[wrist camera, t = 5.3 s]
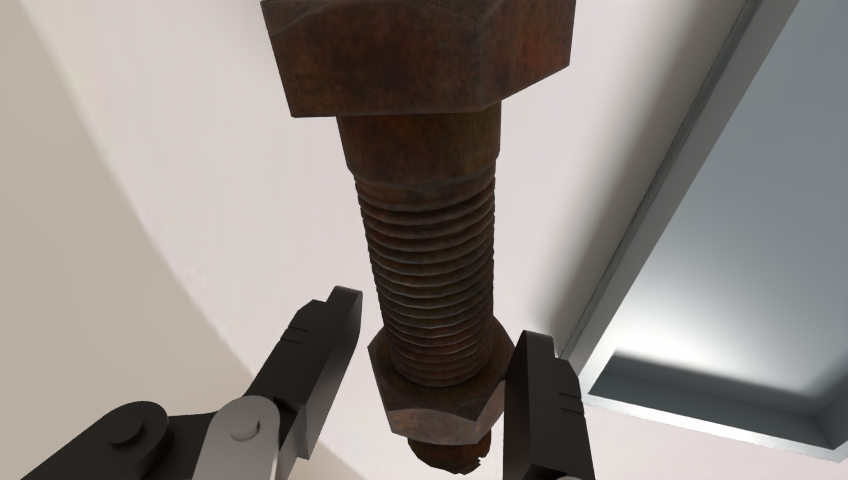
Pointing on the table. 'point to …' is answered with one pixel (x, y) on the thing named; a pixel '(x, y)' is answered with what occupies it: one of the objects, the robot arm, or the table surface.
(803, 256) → the tray
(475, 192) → the bolt
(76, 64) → the table surface
